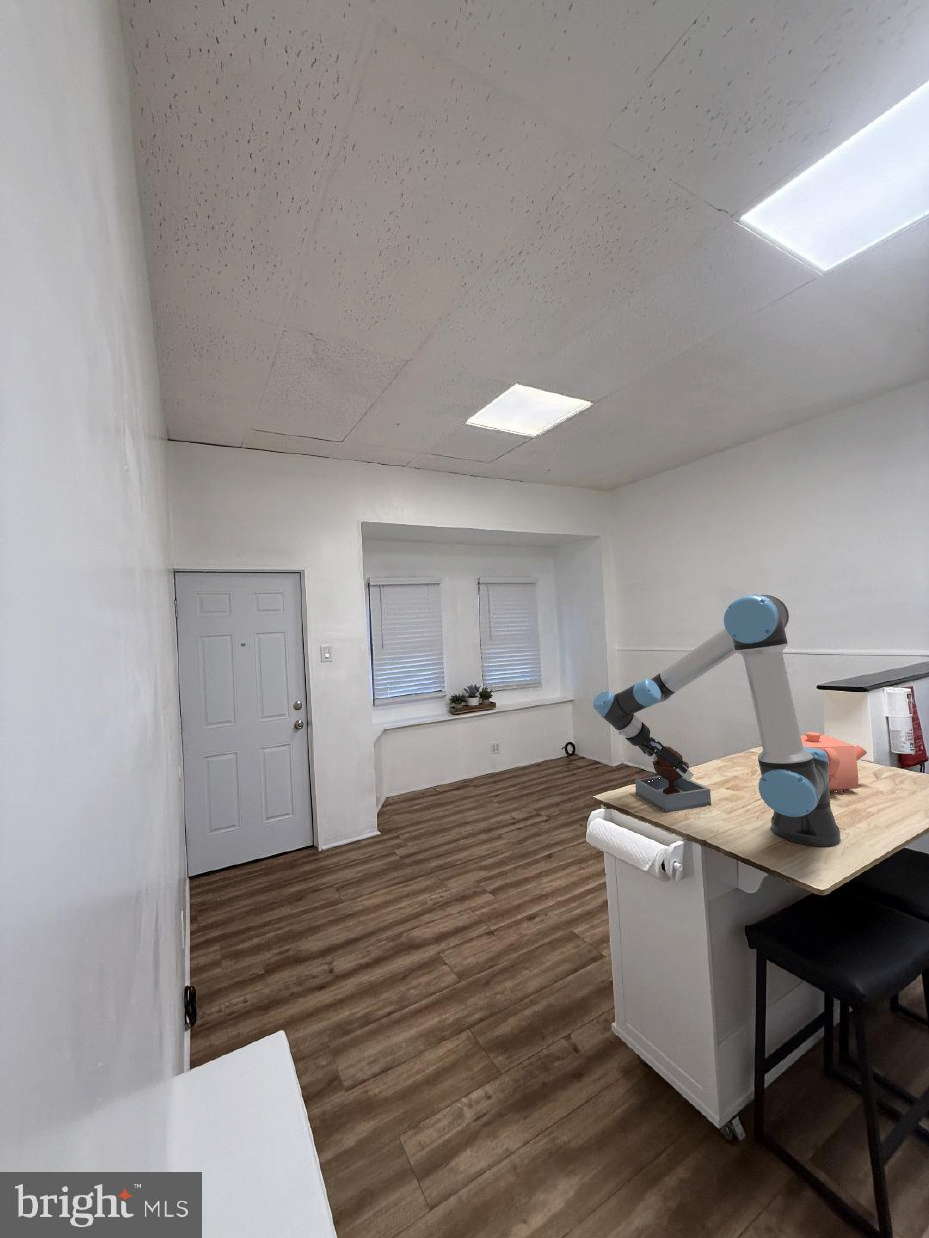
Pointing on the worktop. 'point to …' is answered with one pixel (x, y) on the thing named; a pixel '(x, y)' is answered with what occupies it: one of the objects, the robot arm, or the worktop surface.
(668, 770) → the ice cream bowl
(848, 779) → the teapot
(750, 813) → the worktop surface
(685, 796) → the tray
